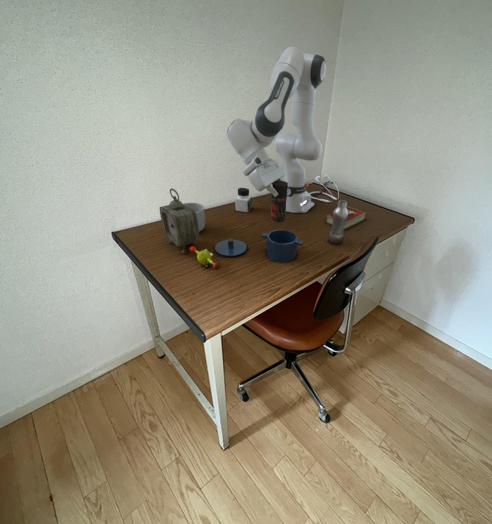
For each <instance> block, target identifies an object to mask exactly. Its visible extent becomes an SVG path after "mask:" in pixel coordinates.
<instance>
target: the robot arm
mask: <svg viewBox="0 0 492 524" xmlns="http://www.w3.org/2000/svg"><path fill="white" fill-rule="evenodd" d="M326 74H327V61H326V59H325V57H324V56H322V55H320V54H312V53H308V52H307V53H306V52H303V51H302V50H300V49H299V48H298V47H296V46H288V47H287V48H285V49H284V50H283V52H282V53H281V54H280V56H279V57H278V58H277V60H276V63H275V65H274V67H273V70H272V72H271V75H270V79H269V80H270V81H269V88H270V90H271V92H270V94H269V97H268V99H267V100H265V101H264V102H263V103H261V104H260V106H258V108H257V110H256V113H255V117H254V119H249V120H245V119H244V120H243V119H241V118H236V119H234V120H233V121H232V122H231V123H230V125H229V126H228V128H227V130H226V138H227V140H228V141H229V143H230V145H231V147H232V148H233V149H234V150H235V152H236V154H238V155H239V156H240V157H241V159H242V160H243V163H244V164H245V166H244V168H243V169H242V174H243V175H244V176H245V177H247V179H248V180H249V181H248V182H250V184H251V185H252V186H253V188H254V189H255V190H256V191H258V192H262V191H264V190H265V189H266V190H267V192H268V193H271V195H272V194H273V195H274V196H275V197H276V196H277V195H278V194H279V192H278V191H277V190H275V189H274V188H273V186H272V183H273V182H275V181H285V182H287V183H288V188H287V200H286V213H292V214H293V213H297V214H298V213H302V214H306V213H307V212H309V210H311V209H312V208H313V207H314V206H315V202H313V201H312V198H311V197H314V196H317V195H320V194H322V192H323V193H326V191H327V189H326V188H327V186H326V185H327V184H329V183H331V184H334V183H333V182H334V181H333V182H330V181H331V180H329V181H326V182H324V183H323V187H324V186H325V187H326V188H325V187H324V190H322V191H318V192H319V193H312V195H311V194H309V193H310V192H308V191H307V188H309V183H306V175H307V171H306V168H305V167H304V166H303V165H302V164H301V162H300V160H302V161H303V160H304V161H317V160H318V159H319V158H320V156H321V155H322V152H323V145H322V142H321V140H320V139H319V138H318V136H317V135H316V131H315V127H314V114H315V106H316V98H317V88H318V87H319V86H320V85H321V84H322V83H323V82H324V80H325V77H326ZM289 99H292V100H291V108H290V109H291V110H290V123H291V124H292V125H293V126H294V127H296V130H297V132H298V134H294V133H280V132H281V130H282V129H283V128H284V125H285V121H286V117H285V114H286V113H285V112H286V111H285V110H286V106H287V104H288V101H289ZM279 133H280V134H279ZM274 140H275V142H274V148H275V151H276V152H277V153H278V155H279V156H280V157H281V160H282V162H283V165H284V168H283V167H282V166H281V165H280V164H279V162H278V161H276V160H275V159H273V158H271V156H270V155H269V154H268V153H267V151H266V150H265V148H267V147H269V146H270V145H271V144H272V143H273V141H274ZM283 178H284V179H283Z"/></svg>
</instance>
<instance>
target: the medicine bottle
mask: <svg viewBox="0 0 492 524" xmlns="http://www.w3.org/2000/svg"><path fill="white" fill-rule="evenodd" d="M234 201H235V202H234V203H235V205H234V206H235V211H236V212H240V213H241V212H242V213H249V212H250V211H251V209H252V207H253V206H252V205H253V204H252V202H253V201H252V195H250V189H249V188H248V187H244V186H241V187H238V189H237V196H236V197H235V199H234Z"/></svg>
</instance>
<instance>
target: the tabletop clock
mask: <svg viewBox="0 0 492 524" xmlns="http://www.w3.org/2000/svg"><path fill="white" fill-rule="evenodd" d="M172 191H173V192H174V193H175V194H176V195H173V194H172ZM169 194H170V196H171V198H172V199H173V200H171V201H170V202H169V204H167V205H162V206H159V215H160V221H161V225H162V229H163V233H164V236H166V238H167V239H168V240H169V243H170V244H173V245H175V246H176V247H181V246H182V250H181V254H182V255H185V254H186V253H187V251H186V249H185V248H186V246H190V244H191V243H194V242H197V240H198V239H199V238H200V232H199V228H198V221H197V216H196V213H195V212H194V210H192V209H191V208H190V207H188V206H187V205H185V204H183V202H182V201H181V200H180V195H179V193H178V191H177V190H176V189H175V188H170V189H169Z"/></svg>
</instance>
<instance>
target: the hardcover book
mask: <svg viewBox="0 0 492 524" xmlns="http://www.w3.org/2000/svg"><path fill="white" fill-rule="evenodd" d="M346 209H347V211H348V216H347V219H346V221H345V225H344V230H343V231H346V230H348V229H349V228H351V227H353V226H355V225H357V224H359V223H361V222H363V221H365V220H366V219H365V218H366V217H365V216H366V215H367V212H364V211H362V210H360V209H357V208H355V207H351V206H347V207H346ZM325 223H326V224H328V225H331V226H332V224H333V212H332V213H330V214H327V215H326V216H325Z"/></svg>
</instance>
